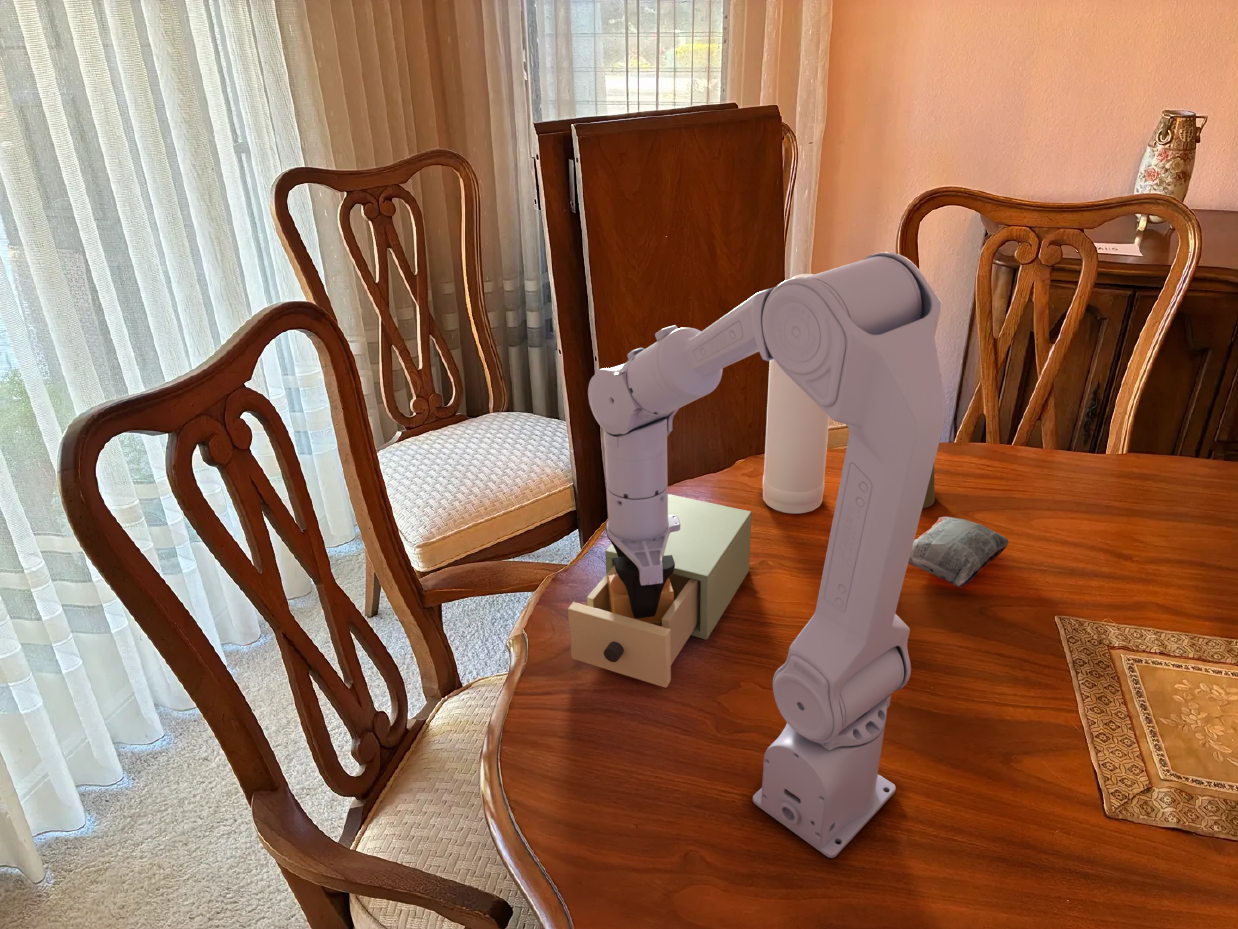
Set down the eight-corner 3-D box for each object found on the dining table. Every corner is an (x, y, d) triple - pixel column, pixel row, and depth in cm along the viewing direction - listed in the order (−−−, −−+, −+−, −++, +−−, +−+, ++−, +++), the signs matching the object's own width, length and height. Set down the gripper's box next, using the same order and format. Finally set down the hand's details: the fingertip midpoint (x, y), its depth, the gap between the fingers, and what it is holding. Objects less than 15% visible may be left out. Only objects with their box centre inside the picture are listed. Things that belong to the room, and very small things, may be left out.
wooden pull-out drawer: (661, 696, 81) (660, 644, 78) (565, 666, 85) (561, 615, 82) (712, 613, 92) (713, 565, 89) (625, 590, 96) (624, 543, 93)
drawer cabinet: (706, 640, 89) (707, 576, 86) (608, 612, 94) (604, 550, 90) (749, 570, 100) (751, 511, 96) (658, 548, 105) (657, 491, 101)
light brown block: (666, 597, 89) (665, 557, 87) (674, 621, 86) (673, 580, 83) (609, 603, 88) (607, 564, 86) (614, 628, 85) (612, 587, 83)
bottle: (751, 503, 113) (760, 281, 99) (778, 479, 119) (791, 265, 105) (806, 521, 109) (825, 291, 95) (832, 495, 115) (853, 273, 100)
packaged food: (888, 571, 99) (894, 535, 96) (940, 530, 106) (946, 496, 104) (959, 604, 93) (967, 567, 91) (1009, 559, 100) (1017, 523, 98)
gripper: (696, 519, 74) (695, 642, 80) (664, 445, 87) (665, 556, 93) (615, 528, 73) (621, 652, 80) (595, 452, 86) (601, 564, 92)
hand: (640, 601), depth 86 cm, fingers closed on light brown block, 4 cm apart
